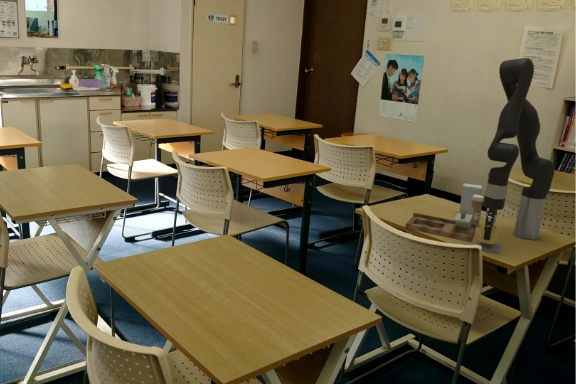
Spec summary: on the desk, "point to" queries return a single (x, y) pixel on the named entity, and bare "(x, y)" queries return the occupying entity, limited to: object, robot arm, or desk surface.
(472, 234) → the puzzle board
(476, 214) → the sprinkles bottle
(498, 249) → the mat
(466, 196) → the skincare box
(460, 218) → the lock slider
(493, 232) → the block
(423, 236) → the desk surface
